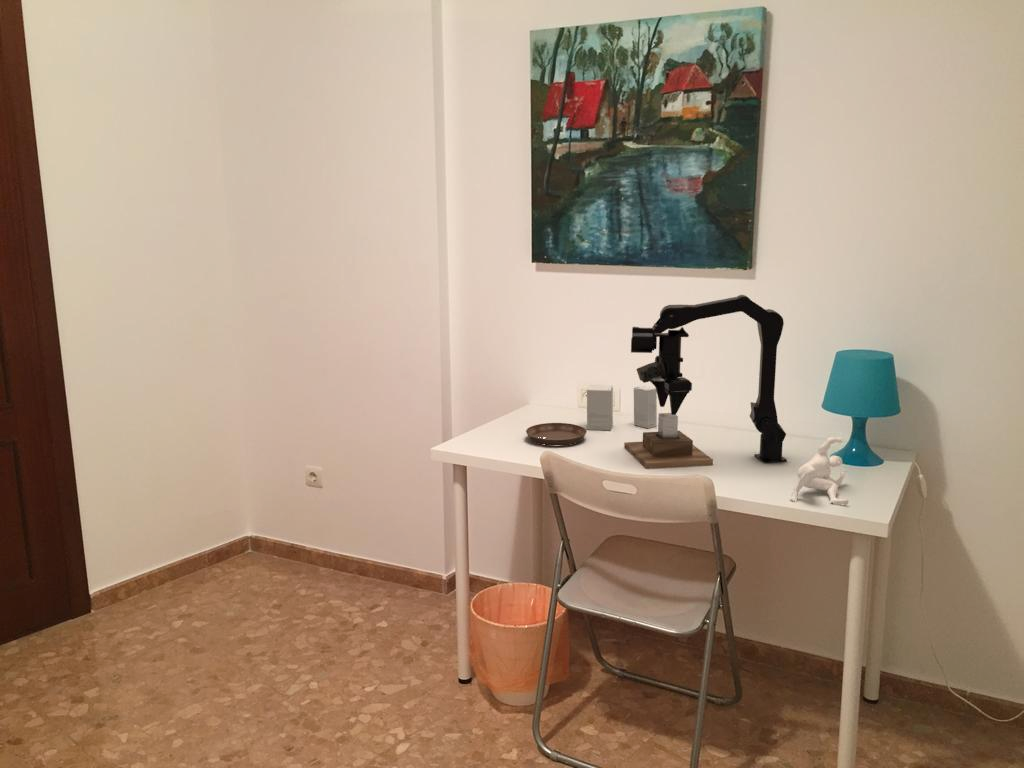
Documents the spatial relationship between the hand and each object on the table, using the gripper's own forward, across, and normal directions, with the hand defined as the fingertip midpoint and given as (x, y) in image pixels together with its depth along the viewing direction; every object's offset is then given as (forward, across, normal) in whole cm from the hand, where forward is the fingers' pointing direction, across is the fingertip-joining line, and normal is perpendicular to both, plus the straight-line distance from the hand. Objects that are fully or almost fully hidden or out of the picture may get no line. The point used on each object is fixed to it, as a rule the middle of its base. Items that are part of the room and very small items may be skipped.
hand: (667, 410), depth 224 cm
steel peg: (+11, 0, 0) cm, 11 cm away
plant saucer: (+13, -22, -26) cm, 36 cm away
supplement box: (+13, -33, -10) cm, 37 cm away
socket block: (+13, 0, 0) cm, 13 cm away
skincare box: (+13, -32, +4) cm, 35 cm away
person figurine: (+13, +35, +25) cm, 45 cm away
